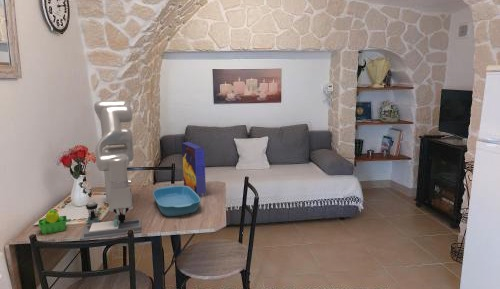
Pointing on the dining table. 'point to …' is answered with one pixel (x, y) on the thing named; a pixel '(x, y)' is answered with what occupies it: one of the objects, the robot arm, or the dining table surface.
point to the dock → (120, 231)
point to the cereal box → (194, 167)
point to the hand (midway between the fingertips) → (122, 221)
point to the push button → (92, 213)
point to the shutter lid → (105, 225)
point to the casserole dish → (176, 200)
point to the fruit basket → (52, 222)
